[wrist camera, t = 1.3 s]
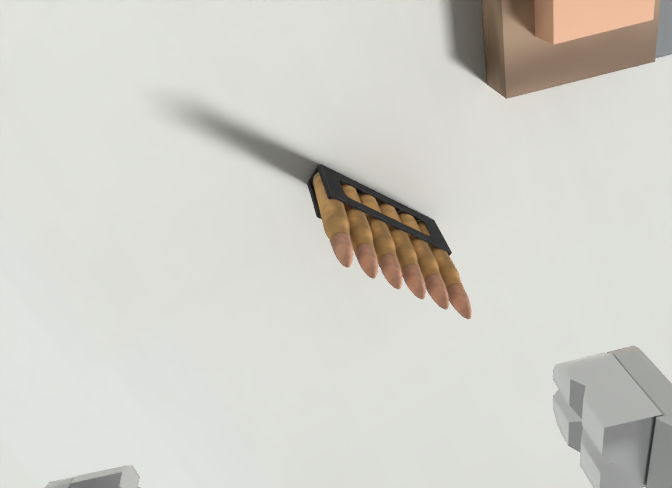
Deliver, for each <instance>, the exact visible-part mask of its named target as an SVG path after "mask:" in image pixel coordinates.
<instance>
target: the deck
mask: <svg viewBox="0 0 672 488" xmlns="http://www.w3.org/2000/svg"><path fill="white" fill-rule="evenodd" d="M481 1H482V16H483V31H484V46H485V60H486V75H487V85H489V86H490V87H491V88H493V89H494V90H495V91H497V92H498V93H500V94H501V95H502V96H504V97H505V98H506V99H507V98H511V97H515V96H519V95H523V94H527V93H531V92H535V91H539V90H543V89H547V88H551V87H555V86H559V85H563V84H567V83H571V82H575V81H579V80H583V79H587V78H591V77H595V76H599V75H603V74H607V73H611V72H615V71H619V70H623V69H627V68H631V67H635V66H639V65H643V64H647V63H651V62H655V54H656V43H657V32H658V21H659V10H660V0H655V6H654V18H653V20H650V21H646V22H642V23H638V24H634V25H630V26H626V27H622V28H618V29H614V30H610V31H606V32H602V33H598V34H594V35H590V36H586V37H582V38H578V39H574V40H570V41H566V42H562V43H558V44H554V45H553V44H551V43H549V42H547V41H544V40H542V39H540V38H538V37H535V12H534V0H481Z"/></svg>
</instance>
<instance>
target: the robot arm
mask: <svg viewBox="0 0 672 488" xmlns="http://www.w3.org/2000/svg"><path fill="white" fill-rule="evenodd" d="M553 380H554V382H555V384H556V385H557V387H558V388H559V389H558V391H557V392H556V393H555V395H554V396H553V410H554V414H555V418H556V422H557V425H558V427H559V429H560V431H561V434H562V436H563V437H564V439H565V441H566V443H567V444H568V446H570V447H572V448H573V449H575V450H577V451H579V452H580V453H581V455H580V466H581V468H582V469H583V471H584V473H585V474H586V476H587V478H588V479H589V481H590V483H591V484H592V486H593V488H643V487H646V488H672V383H671V382H670V381H669V380H668V379H667V378H666V377H665V376H664V375H663V374H662V372H661V371H660V370H659V369H658V368H657V367H656V366H655V365H654V364H653V363H652V362H651V360H650V359H649V358H648V357H647V356H646V355H645V354H644V353H643V352H642V351H641V350H640V349H639V348H637V347H635V346H631V347H627V348H623V349H618V350H614V351H610V352H607V353H601V354H597V355H593V356H589V357H585V358H581V359H577V360H572V361H568V362H564V363H560V364H556V365H555V367H554V370H553ZM139 478H140V476H139V475H138V473H137V472H136V470H135V469H134V467H133V466H123V467H118V468H113V469H108V470H103V471H99V472H94V473H89V474H84V475H79V476H76V477H72V478H67V479H62V480H57V481H53V482H49V483H48V485H47V486H46V487H45V488H139V487H138V483H139Z"/></svg>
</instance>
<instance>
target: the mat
mask: <svg viewBox="0 0 672 488" xmlns="http://www.w3.org/2000/svg"><path fill="white" fill-rule="evenodd" d="M671 54H672V0H660V10H659V21H658V32H657V43H656V54H655V58H659V57H663V56H667V55H671Z"/></svg>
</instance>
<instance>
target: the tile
mask: <svg viewBox="0 0 672 488" xmlns="http://www.w3.org/2000/svg"><path fill="white" fill-rule="evenodd" d="M654 6H655V0H534V12H535V37H538V38H540V39H542V40H544V41H547V42H549V43H551V44H553V45H554V44H558V43H562V42H566V41H570V40H574V39H578V38H582V37H586V36H590V35H594V34H598V33H602V32H606V31H610V30H614V29H618V28H622V27H626V26H630V25H634V24H638V23H642V22H646V21H650V20H653V18H654Z"/></svg>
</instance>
